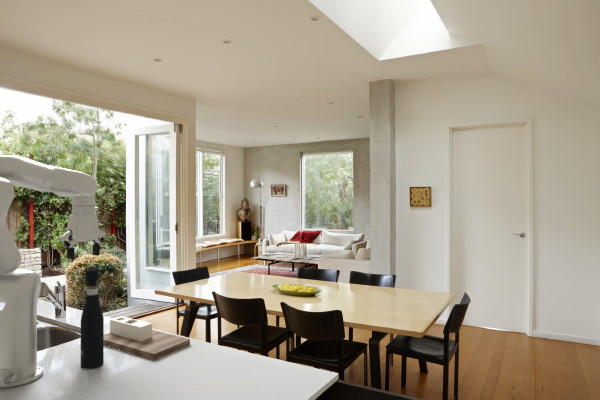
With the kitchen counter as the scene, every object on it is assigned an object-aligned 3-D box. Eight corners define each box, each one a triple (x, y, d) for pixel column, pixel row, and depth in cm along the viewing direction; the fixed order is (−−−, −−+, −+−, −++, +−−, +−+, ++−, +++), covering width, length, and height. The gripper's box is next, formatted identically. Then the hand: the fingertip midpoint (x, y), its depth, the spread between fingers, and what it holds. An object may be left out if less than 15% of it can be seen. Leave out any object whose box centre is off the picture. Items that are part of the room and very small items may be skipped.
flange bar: (152, 337, 149) (152, 323, 149) (140, 341, 145) (140, 327, 145) (121, 329, 157) (121, 316, 157) (110, 333, 153) (110, 319, 153)
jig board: (189, 344, 148) (190, 323, 148) (154, 360, 134) (154, 337, 134) (133, 330, 163) (133, 311, 162) (95, 342, 149) (95, 322, 148)
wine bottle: (107, 361, 133) (107, 268, 132) (95, 369, 126) (95, 271, 126) (88, 360, 133) (88, 267, 133) (76, 368, 127) (76, 271, 126)
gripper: (98, 209, 161) (98, 253, 161) (54, 210, 146) (54, 259, 146) (111, 209, 157) (111, 254, 157) (66, 211, 142) (66, 261, 142)
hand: (83, 256), depth 152 cm, fingers open, 9 cm apart
